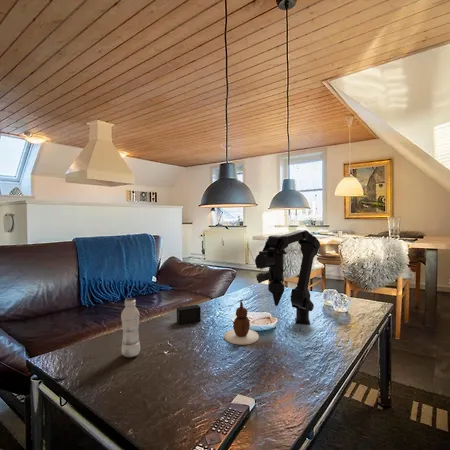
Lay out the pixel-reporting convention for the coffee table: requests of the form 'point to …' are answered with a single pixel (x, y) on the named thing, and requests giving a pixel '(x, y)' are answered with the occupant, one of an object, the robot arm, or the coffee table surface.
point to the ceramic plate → (244, 340)
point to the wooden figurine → (241, 321)
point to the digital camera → (188, 314)
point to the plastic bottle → (130, 329)
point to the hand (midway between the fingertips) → (276, 302)
